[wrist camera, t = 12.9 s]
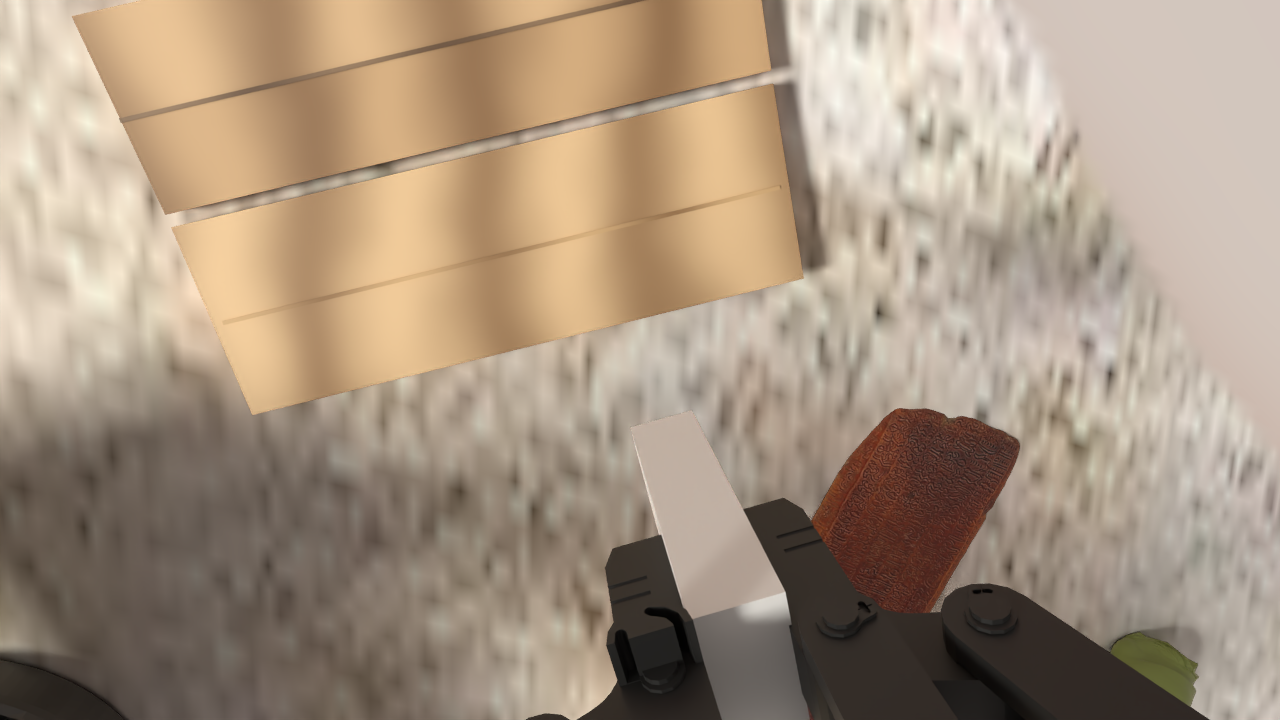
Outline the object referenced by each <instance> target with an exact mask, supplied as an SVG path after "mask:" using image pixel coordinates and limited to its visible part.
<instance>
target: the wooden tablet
mask: <svg viewBox="0 0 1280 720" xmlns="http://www.w3.org/2000/svg"><path fill="white" fill-rule="evenodd" d="M1019 447H1020V446H1019V442H1018V441H1017V440H1016V439H1015V438H1012V437H1010V436H1008V435H1007V434H1006V433H1004V432H1003V431H1000V430H997V429H993V428H991V427H989V426H988V425H986V424H984V423H982V422H981V421H978V420H976V419H973V418H968V417H964V416H960V417H957V418H948V417H946V416H945V414H942V413H939V412H936V411H934V410H930V409H903V408H899V409H896V410H894V411H893V412H891V413H890V414H889V415H887V416H886V417H885V418H884V419H883V420H882V421H881V422H880V424H879V425H878V426H877V427H876V428H875V429H874V430H873V431H872V432H871V433H870V434H869V435H868V437H867V438H866V439H865V440H864V441H863V442H862V443H861V444H860V446H859V447H858V448H857V449H856V450H855V451H854V452H853V453H852V455H851V456H850V457H849V458H848V459H847V461H846V462H845V464H844V465H843V467H842V469H841V470H840V471H839V473H838V475H837V476H836V478H835V480H834V482H833V483H832V485H831V487H830V489H829V491H828V492H827V494H826V496H825V497H824V499H823V501H822V503H821V505H820V507H819V509H818V510H817V512H816V514H815V515H814V517H813V519H812V521H811V522H812V524H813V525H814V528H816V530H817V531H818V533H819V534H820V536H821V537H822V540H823V542H825V544H826V545H827V547H828V548H829V550H830V551H831V553H832V554H833V556H834V557H835V559H836V560H837V562H838V563H839V565H840V566H841V568H842V569H843V571H844V572H845V574H846V575H847V577H848V578H849V580H850V581H851V583H852V584H853V586H854V587H855V589H856V590H857V592H858V593H861V594H863V595H865V596H868V597H870V598H872V599H873V600H874V601H875V602H876V603H877V604H878V605H879V606H880V607H881V608H882V609H885V610H889V611H894V612H898V613H930V611H931V610H932V608H933V606H934V605H935V603H936V601H937V600H938V598H939V596H940V595H941V593H942V591H943V589H944V588H945V586H946V584H947V582H948V581H949V579H950V577H951V575H952V574H953V572H954V570H955V569H956V567H957V565H958V564H959V562H960V560H961V559H962V557H963V556H964V554H965V553H966V551H967V549H968V547H969V545H970V543H971V542H972V540H973V539H974V537H975V536H976V534H977V532H978V530H979V529H980V527H981V526H982V524H983V522H984V521H985V519H986V513H987V512H988V511H989V510H990V509H991V508H992V507H993V505H994V503H995V501H996V499H997V497H998V496H999V494H1000V492H1001V490H1002V489H1003V487H1004V485H1005V483H1006V481H1007V479H1008V477H1009V475H1010V473H1011V471H1012V469H1013V466H1014V464H1015V462H1016V459H1017V456H1018V453H1019ZM807 707H808V705H807ZM808 712H809V717H810V720H814V718H813V716H812V714H811V712H810V710H809V707H808Z"/></svg>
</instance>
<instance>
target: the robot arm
mask: <svg viewBox="0 0 1280 720" xmlns="http://www.w3.org/2000/svg"><path fill="white" fill-rule="evenodd" d="M630 429H631V433H632V436H633V440H634V444H635V448H636V451H637V455H638V459H639V463H640V466H641V470H642V474H643V478H644V481H645V485H646V489H647V493H648V496H649V500H650V504H651V508H652V511H653V515H654V519H655V523H656V526H657V529H658V533H659V535H658V536H655V537H651V538H648V539H644V540H641V541H637V542H634V543H630V544H627V545H623V546H620V547H616V548H613V549H612V552H611V554H610V557H609V559H608V562H607V564H606V567H605V570H606V576H607V583H608V588H609V595H610V601H611V608H612V614H613V620H614V623H613V625H612V626H611V628H610V630H609V631H608V635H607V644H606V646H607V649H608V652H609V655H610V658H611V661H612V664H613V668H614V671H615V674H616V677H617V683H616V685H615V686H614V688H613V690H612V692H611V693H610V694H609V695H608V696H607V698H606V699H605V700H604V701H603V702H602V703H601V704H600V705H598V706H597V707H596V708H594V709H593V710H592V711H590V712H589V713H587V714H585V715H584V716H582V717H580V718H579V719H577V720H810V717H809V712H808V707H809V710H810V712H811V714H812V716H813V718H814V720H1209V719H1208V718H1206V717H1205V716H1203V715H1202V714H1200V713H1199V712H1197V711H1196V710H1194V709H1193V708H1191V707H1190V706H1188V705H1187V704H1185V703H1184V702H1182V701H1181V700H1179V699H1178V698H1176V697H1175V696H1173V695H1172V694H1170V693H1169V692H1167V691H1166V690H1164V689H1163V688H1161V687H1160V686H1158V685H1157V684H1155V683H1154V682H1153V681H1151V680H1150V679H1148V678H1147V677H1145V676H1144V675H1142V674H1141V673H1139V672H1138V671H1136V670H1135V669H1133V668H1132V667H1130V666H1129V665H1127V664H1126V663H1124V662H1123V661H1121V660H1120V659H1118V658H1117V657H1115V656H1114V655H1112V654H1111V653H1109V652H1108V651H1106V650H1105V649H1103V648H1102V647H1100V646H1099V645H1097V644H1096V643H1094V642H1093V641H1091V640H1090V639H1088V638H1087V637H1085V636H1084V635H1082V634H1081V633H1080V632H1078V631H1077V630H1075V629H1074V628H1072V627H1071V626H1069V625H1068V624H1066V623H1065V622H1063V621H1062V620H1060V619H1059V618H1057V617H1056V616H1054V615H1053V614H1051V613H1050V612H1048V611H1047V610H1045V609H1044V608H1042V607H1041V606H1039V605H1038V604H1036V603H1035V602H1033V601H1032V600H1030V599H1029V598H1027V597H1026V596H1024V595H1022V594H1020V593H1018V592H1016V591H1014V590H1012V589H1010V588H1008V587H1003V586H998V585H993V584H971V585H968V586H965V587H962V588H959V589H956V590H954V591H953V592H952V593H951V594H950V595H948V596H947V597H946V598H945V600H944V603H943V605H942V608H941V612H937V613H898V612H894V611H889V610H885V609H882V608H881V607H880V606H879V605H878V604H877V603H876V602H875V601H874V600H873V599H872V598H870V597H868V596H865V595H863V594H861V593H858V592H857V590H856V589H855V587H854V586H853V584H852V583H851V581H850V580H849V578H848V577H847V575H846V574H845V572H844V571H843V569H842V568H841V566H840V565H839V563H838V562H837V560H836V559H835V557H834V556H833V554H832V553H831V551H830V550H829V548H828V547H827V545H826V544H825V542H823V540H822V537H821V536H820V534H819V533H818V531H817V530H816V528H814V525H813V524H812V522H811V521H810V519H809V518H808V516H807V515H806V513H805V512H804V510H803V509H802V508H800V507H798V506H797V505H795V504H793V503H791V502H790V501H788V500H786V499H785V498H781V499H778V500H774V501H771V502H767V503H764V504H760V505H757V506H753V507H750V508H746V509H743V508H742V507H741V505H740V503H739V501H738V499H737V497H736V495H735V493H734V491H733V489H732V487H731V485H730V483H729V481H728V479H727V477H726V475H725V474H724V472H723V470H722V468H721V466H720V464H719V462H718V460H717V458H716V456H715V454H714V452H713V450H712V448H711V446H710V444H709V442H708V440H707V439H706V437H705V435H704V433H703V431H702V429H701V427H700V425H699V423H698V421H697V419H696V417H695V415H694V413H693V411H692V410H690V411H687V412H683V413H679V414H676V415H672V416H668V417H665V418H661V419H658V420H654V421H650V422H647V423H643V424H640V425H636V426H632V427H630ZM807 705H808V707H807ZM0 720H124V719H122V718H121V717H120V716H119V715H118V714H117V713H116V712H115V711H114V710H113V709H112V708H111V707H109V706H108V705H107V704H106V703H104V702H103V701H102V700H100V699H99V698H97V697H96V696H94V695H93V694H91V693H90V692H88V691H86V690H85V689H83V688H81V687H80V686H78V685H76V684H74V683H72V682H70V681H68V680H65V679H63V678H61V677H58V676H56V675H53V674H51V673H48V672H45V671H42V670H39V669H36V668H33V667H29V666H25V665H22V664H17V663H13V662H8V661H2V660H0ZM526 720H569V719H568V718H566V717H564V716H562V715H558V714H546V713H545V714H542V715H538V716H534V717H530V718H528V719H526Z"/></svg>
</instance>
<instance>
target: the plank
mask: <svg viewBox="0 0 1280 720" xmlns="http://www.w3.org/2000/svg"><path fill="white" fill-rule="evenodd" d="M171 228H172V230H173V233H174V235H175V237H176V240H177V242H178V244H179V247H180V249H181V251H182V253H183V256H184V258H185V260H186V263H187V265H188V267H189V270H190V272H191V274H192V277H193V279H194V281H195V284H196V286H197V288H198V290H199V293H200V295H201V297H202V300H203V302H204V304H205V307H206V309H207V311H208V314H209V316H210V318H211V321H212V323H213V325H214V328H215V330H216V332H217V334H218V337H219V339H220V341H221V344H222V346H223V348H224V351H225V353H226V355H227V358H228V360H229V362H230V365H231V367H232V369H233V372H234V374H235V376H236V378H237V381H238V383H239V385H240V388H241V390H242V392H243V395H244V397H245V399H246V402H247V404H248V406H249V409H250V411H251V413H252V415H255V414H259V413H263V412H267V411H271V410H275V409H279V408H283V407H287V406H291V405H295V404H299V403H303V402H307V401H311V400H315V399H319V398H323V397H327V396H331V395H335V394H339V393H343V392H347V391H351V390H355V389H360V388H364V387H368V386H372V385H376V384H380V383H384V382H388V381H392V380H396V379H400V378H404V377H408V376H412V375H416V374H420V373H424V372H428V371H432V370H436V369H440V368H444V367H448V366H452V365H456V364H460V363H464V362H468V361H472V360H477V359H481V358H485V357H489V356H493V355H497V354H501V353H505V352H509V351H513V350H517V349H521V348H525V347H529V346H533V345H537V344H541V343H545V342H549V341H553V340H557V339H561V338H565V337H569V336H573V335H577V334H581V333H585V332H589V331H593V330H598V329H602V328H606V327H610V326H614V325H618V324H622V323H626V322H630V321H634V320H638V319H642V318H646V317H650V316H654V315H658V314H662V313H666V312H670V311H674V310H678V309H682V308H686V307H690V306H694V305H698V304H702V303H706V302H710V301H715V300H719V299H723V298H727V297H731V296H735V295H739V294H743V293H747V292H751V291H755V290H759V289H763V288H767V287H771V286H775V285H779V284H783V283H787V282H791V281H795V280H799V279H803V278H804V277H803V271H802V264H801V258H800V252H799V245H798V239H797V232H796V226H795V220H794V213H793V207H792V201H791V194H790V188H789V181H788V175H787V169H786V162H785V156H784V150H783V143H782V137H781V130H780V124H779V118H778V111H777V105H776V99H775V92H774V86H773V84H769V85H765V86H761V87H757V88H753V89H748V90H744V91H740V92H736V93H732V94H728V95H723V96H719V97H715V98H711V99H707V100H702V101H698V102H694V103H690V104H686V105H682V106H677V107H673V108H669V109H665V110H661V111H656V112H652V113H648V114H644V115H640V116H636V117H631V118H627V119H623V120H619V121H615V122H610V123H606V124H602V125H598V126H594V127H590V128H585V129H581V130H577V131H573V132H569V133H564V134H560V135H556V136H552V137H548V138H544V139H539V140H535V141H531V142H527V143H523V144H518V145H514V146H510V147H506V148H502V149H498V150H493V151H489V152H485V153H481V154H477V155H472V156H468V157H464V158H460V159H456V160H452V161H447V162H443V163H439V164H435V165H431V166H426V167H422V168H418V169H414V170H410V171H406V172H401V173H397V174H393V175H389V176H385V177H380V178H376V179H372V180H368V181H364V182H360V183H355V184H351V185H347V186H343V187H339V188H334V189H330V190H326V191H322V192H318V193H314V194H309V195H305V196H301V197H297V198H293V199H288V200H284V201H280V202H276V203H272V204H268V205H263V206H259V207H255V208H251V209H247V210H242V211H238V212H234V213H230V214H226V215H222V216H217V217H213V218H209V219H205V220H201V221H196V222H192V223H188V224H184V225H180V226H176V227H171Z"/></svg>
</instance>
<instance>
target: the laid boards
mask: <svg viewBox="0 0 1280 720" xmlns="http://www.w3.org/2000/svg"><path fill="white" fill-rule="evenodd" d="M72 18H73V20H74V22H75V24H76V26H77V28H78V31H79V33H80V35H81V37H82V39H83V41H84V43H85V45H86V47H87V50H88V52H89V54H90V56H91V58H92V60H93V62H94V64H95V67H96V69H97V71H98V73H99V75H100V77H101V79H102V81H103V83H104V86H105V88H106V90H107V92H108V94H109V96H110V98H111V100H112V103H113V105H114V107H115V109H116V111H117V113H118V115H119V117H120V118H119V119H120V122H121V123H122V124H123V126H124V128H125V130H126V132H127V134H128V136H129V139H130V141H131V143H132V145H133V147H134V149H135V151H136V153H137V155H138V158H139V160H140V162H141V164H142V166H143V168H144V170H145V172H146V175H147V177H148V179H149V181H150V183H151V185H152V187H153V189H154V191H155V194H156V196H157V198H158V200H159V202H160V204H161V206H162V208H163V211H164V213H165V215H166V214H171V213H175V212H179V211H183V210H187V209H192V208H196V207H200V206H204V205H208V204H213V203H217V202H221V201H225V200H229V199H234V198H238V197H242V196H246V195H250V194H255V193H259V192H263V191H267V190H271V189H275V188H280V187H284V186H288V185H292V184H296V183H301V182H305V181H309V180H313V179H317V178H322V177H326V176H330V175H334V174H338V173H343V172H347V171H351V170H355V169H359V168H364V167H368V166H372V165H376V164H380V163H384V162H389V161H393V160H397V159H401V158H405V157H410V156H414V155H418V154H422V153H426V152H431V151H435V150H439V149H443V148H447V147H452V146H456V145H460V144H464V143H468V142H473V141H477V140H481V139H485V138H489V137H493V136H498V135H502V134H506V133H510V132H514V131H519V130H523V129H527V128H531V127H535V126H540V125H544V124H548V123H552V122H556V121H561V120H565V119H569V118H573V117H577V116H582V115H586V114H590V113H594V112H598V111H602V110H607V109H611V108H615V107H619V106H623V105H628V104H632V103H636V102H640V101H644V100H649V99H653V98H657V97H661V96H665V95H670V94H674V93H678V92H682V91H686V90H691V89H695V88H699V87H703V86H707V85H711V84H716V83H720V82H724V81H728V80H732V79H737V78H741V77H745V76H749V75H753V74H758V73H762V72H766V71H770V70H771V65H770V58H769V51H768V43H767V36H766V29H765V22H764V14H763V7H762V0H141V1H136V2H132V3H128V4H123V5H119V6H115V7H110V8H106V9H102V10H97V11H93V12H89V13H84V14H80V15H75V16H72Z"/></svg>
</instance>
